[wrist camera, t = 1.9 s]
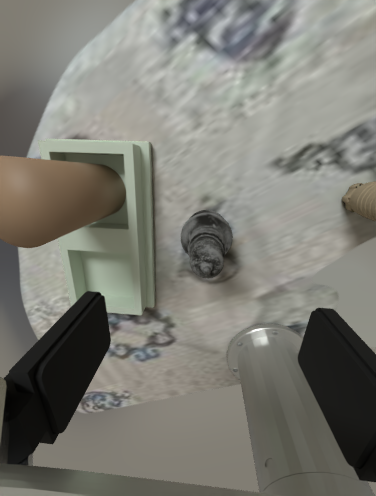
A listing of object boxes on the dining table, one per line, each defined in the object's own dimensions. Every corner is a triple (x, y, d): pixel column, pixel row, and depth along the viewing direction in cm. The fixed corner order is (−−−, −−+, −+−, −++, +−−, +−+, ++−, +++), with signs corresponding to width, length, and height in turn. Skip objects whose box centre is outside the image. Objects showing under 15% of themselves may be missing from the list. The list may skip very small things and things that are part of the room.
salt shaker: (201, 259, 28) (198, 317, 17) (174, 225, 26) (151, 263, 15) (237, 235, 26) (262, 281, 15) (211, 197, 25) (217, 218, 14)
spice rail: (155, 303, 31) (122, 387, 19) (79, 297, 32) (1, 374, 19) (151, 142, 23) (91, 109, 11) (51, 140, 24) (-107, 105, 12)
